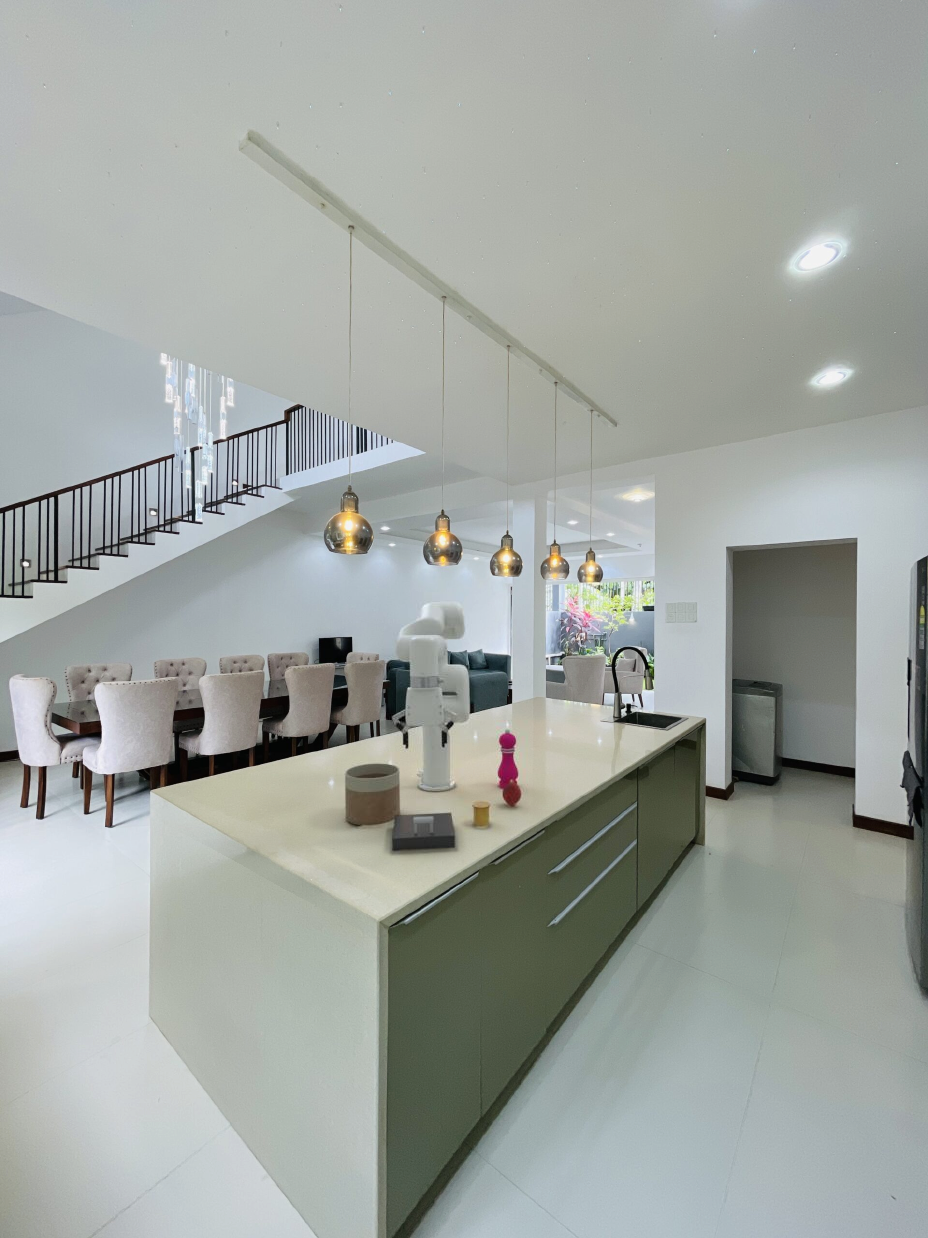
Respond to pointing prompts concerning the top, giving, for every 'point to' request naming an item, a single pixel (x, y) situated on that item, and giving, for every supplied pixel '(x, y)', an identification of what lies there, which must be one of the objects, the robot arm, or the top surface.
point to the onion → (511, 793)
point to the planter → (372, 793)
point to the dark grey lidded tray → (423, 844)
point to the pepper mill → (507, 759)
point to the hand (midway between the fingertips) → (425, 747)
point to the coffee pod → (481, 813)
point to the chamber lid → (423, 827)
